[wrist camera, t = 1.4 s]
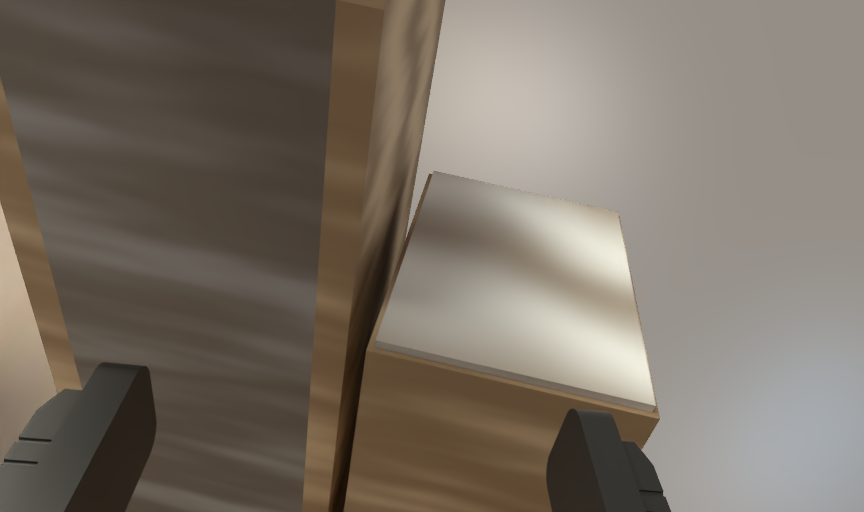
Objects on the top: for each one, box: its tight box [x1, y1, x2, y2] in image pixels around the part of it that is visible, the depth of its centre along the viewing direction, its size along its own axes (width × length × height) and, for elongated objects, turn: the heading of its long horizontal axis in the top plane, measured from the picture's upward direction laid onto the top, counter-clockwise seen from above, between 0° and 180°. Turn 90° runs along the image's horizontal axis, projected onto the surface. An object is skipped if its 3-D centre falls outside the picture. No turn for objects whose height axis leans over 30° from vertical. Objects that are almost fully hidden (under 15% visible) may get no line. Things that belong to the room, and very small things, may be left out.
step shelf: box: [0, 0, 660, 512], centre depth 28 cm, size 16×22×32 cm
